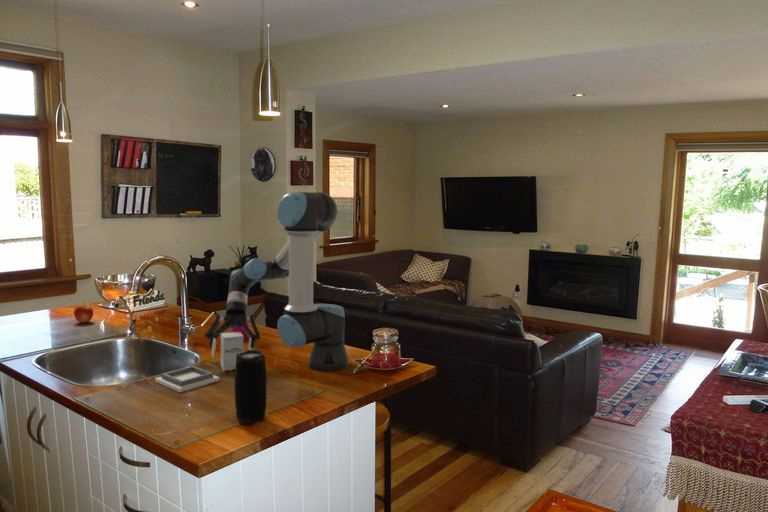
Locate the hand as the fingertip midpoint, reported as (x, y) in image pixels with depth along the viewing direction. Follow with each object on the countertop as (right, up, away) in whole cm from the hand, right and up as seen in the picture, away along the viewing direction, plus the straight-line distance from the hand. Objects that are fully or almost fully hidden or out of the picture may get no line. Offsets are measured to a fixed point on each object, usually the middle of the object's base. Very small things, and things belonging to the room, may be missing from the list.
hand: (230, 355), depth 205 cm
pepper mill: (-8, 0, +43) cm, 44 cm away
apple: (-88, +4, +66) cm, 110 cm away
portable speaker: (+17, -11, -43) cm, 48 cm away
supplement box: (0, -5, +3) cm, 6 cm away
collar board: (-12, -7, -12) cm, 18 cm away
